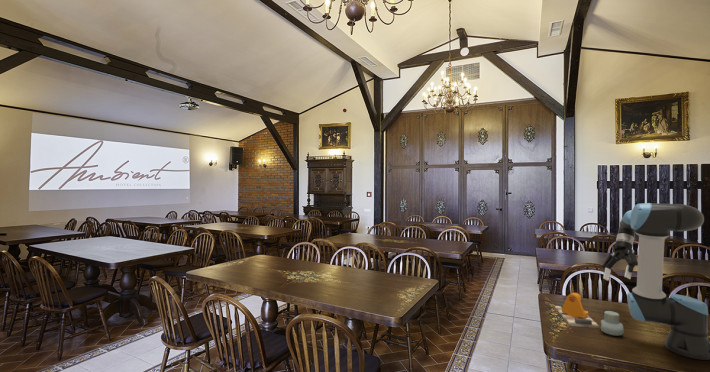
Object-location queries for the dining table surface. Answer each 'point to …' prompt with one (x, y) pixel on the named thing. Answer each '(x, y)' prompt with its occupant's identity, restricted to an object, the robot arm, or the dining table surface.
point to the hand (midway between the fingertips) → (616, 278)
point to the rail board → (572, 320)
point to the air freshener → (611, 324)
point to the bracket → (574, 306)
